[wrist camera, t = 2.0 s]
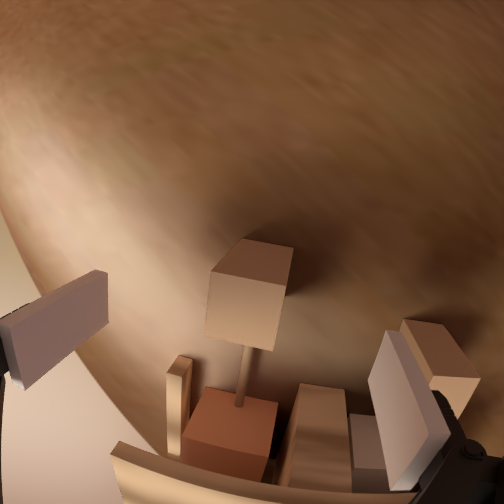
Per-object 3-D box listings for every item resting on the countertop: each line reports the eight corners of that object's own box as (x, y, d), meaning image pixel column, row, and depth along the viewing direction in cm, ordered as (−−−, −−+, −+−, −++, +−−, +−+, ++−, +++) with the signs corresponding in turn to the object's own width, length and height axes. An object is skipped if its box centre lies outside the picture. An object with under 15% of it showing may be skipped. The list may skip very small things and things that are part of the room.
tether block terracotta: (222, 234, 21) (183, 265, 15) (313, 251, 21) (315, 291, 14) (201, 432, 26) (177, 488, 20) (265, 447, 26) (252, 507, 19)
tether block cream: (386, 316, 21) (412, 373, 14) (456, 326, 20) (496, 378, 13) (329, 456, 25) (328, 516, 18) (387, 460, 24) (395, 516, 18)
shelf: (178, 355, 24) (109, 454, 14) (447, 398, 22) (489, 497, 11) (176, 442, 27) (133, 528, 17) (397, 476, 25) (408, 564, 14)
